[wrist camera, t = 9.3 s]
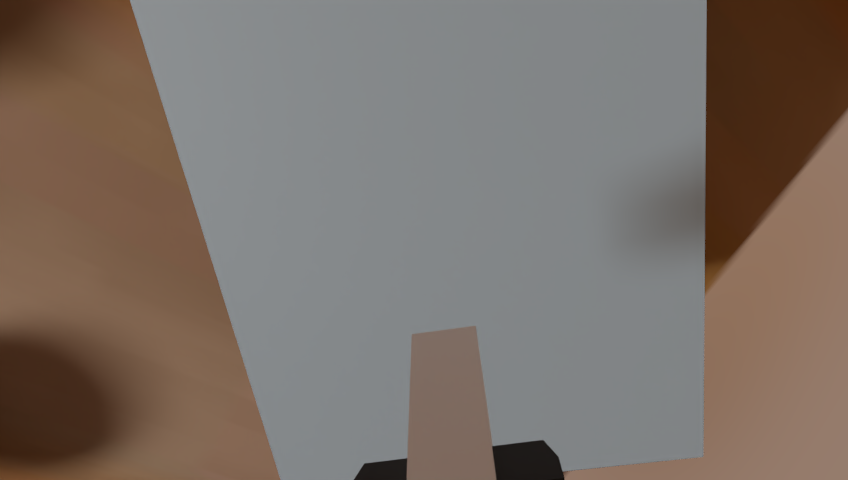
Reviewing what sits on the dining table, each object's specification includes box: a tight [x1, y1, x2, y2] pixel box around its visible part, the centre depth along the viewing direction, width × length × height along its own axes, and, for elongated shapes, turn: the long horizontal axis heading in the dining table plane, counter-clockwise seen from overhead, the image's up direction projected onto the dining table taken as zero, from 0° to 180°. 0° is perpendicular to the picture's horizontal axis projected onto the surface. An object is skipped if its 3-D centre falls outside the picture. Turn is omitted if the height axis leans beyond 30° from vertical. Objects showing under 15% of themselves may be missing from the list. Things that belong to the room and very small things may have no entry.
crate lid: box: [130, 0, 707, 480], centre depth 23 cm, size 20×16×1 cm
